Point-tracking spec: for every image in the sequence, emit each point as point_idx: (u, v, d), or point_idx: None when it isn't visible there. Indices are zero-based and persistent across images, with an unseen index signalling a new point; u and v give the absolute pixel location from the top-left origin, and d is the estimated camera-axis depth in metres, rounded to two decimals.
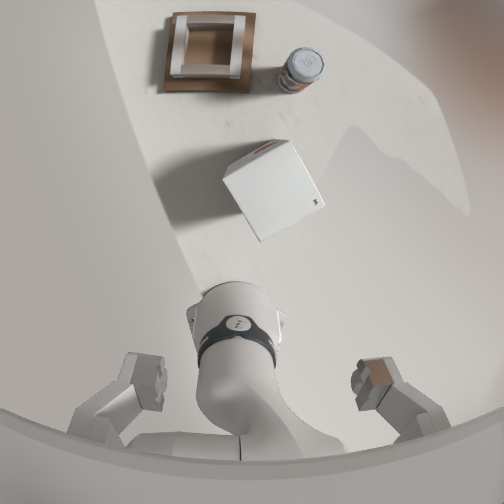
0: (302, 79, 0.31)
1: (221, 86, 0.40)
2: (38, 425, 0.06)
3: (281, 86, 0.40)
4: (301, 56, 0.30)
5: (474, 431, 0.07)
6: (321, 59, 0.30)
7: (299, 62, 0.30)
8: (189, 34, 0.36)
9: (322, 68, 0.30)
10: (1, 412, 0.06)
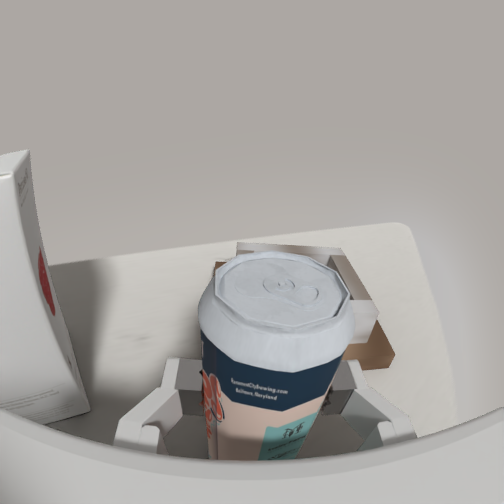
0: (204, 292, 0.09)
1: None
2: (38, 425, 0.06)
3: None
4: (301, 271, 0.09)
5: (474, 431, 0.07)
6: (319, 321, 0.07)
7: (274, 266, 0.10)
8: None
9: (272, 327, 0.07)
10: (1, 412, 0.06)
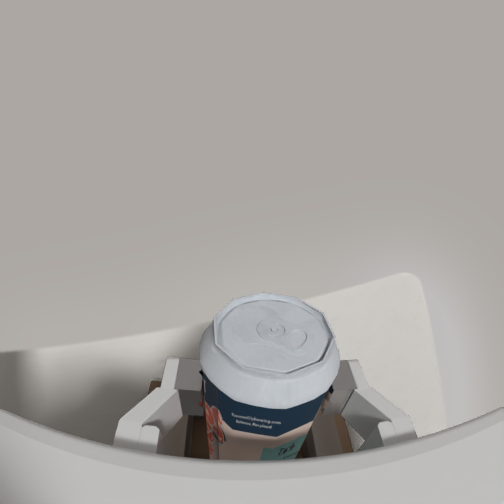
0: (204, 334, 0.10)
1: None
2: (38, 425, 0.06)
3: None
4: (291, 313, 0.10)
5: (474, 431, 0.07)
6: (307, 365, 0.08)
7: (266, 310, 0.10)
8: None
9: (267, 373, 0.08)
10: (1, 412, 0.06)
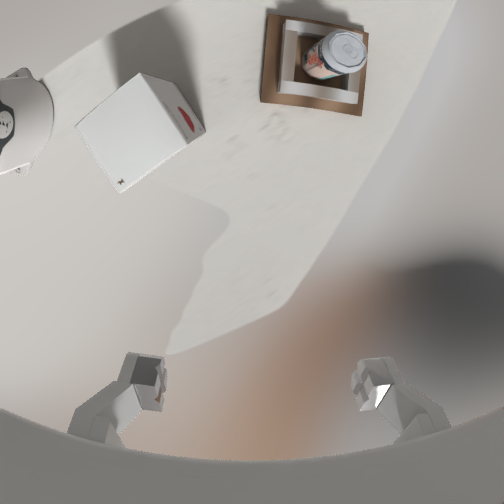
0: (324, 43, 0.23)
1: (268, 72, 0.34)
2: (38, 425, 0.06)
3: (309, 49, 0.31)
4: (355, 43, 0.22)
5: (474, 431, 0.07)
6: (354, 65, 0.23)
7: (346, 40, 0.22)
8: None
9: (343, 65, 0.24)
10: (1, 412, 0.06)
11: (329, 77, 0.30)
